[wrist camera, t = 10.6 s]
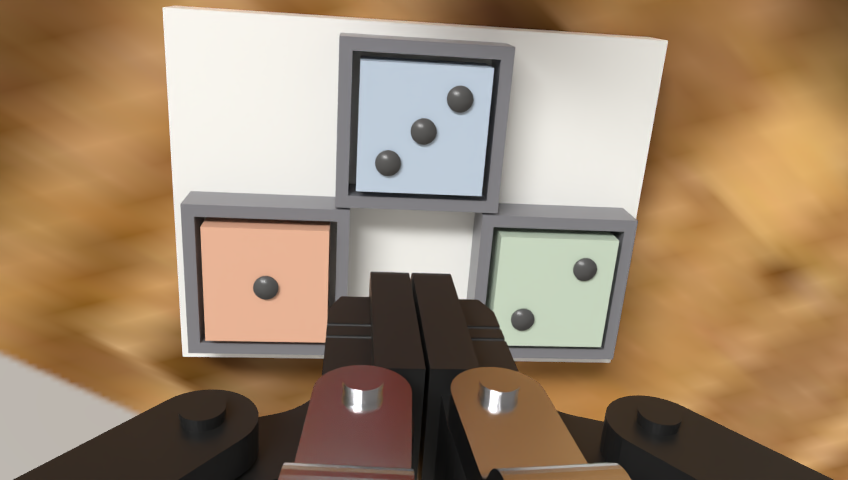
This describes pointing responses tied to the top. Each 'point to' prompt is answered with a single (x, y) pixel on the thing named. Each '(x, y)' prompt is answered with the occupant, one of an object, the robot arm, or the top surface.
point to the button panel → (400, 212)
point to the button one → (265, 279)
